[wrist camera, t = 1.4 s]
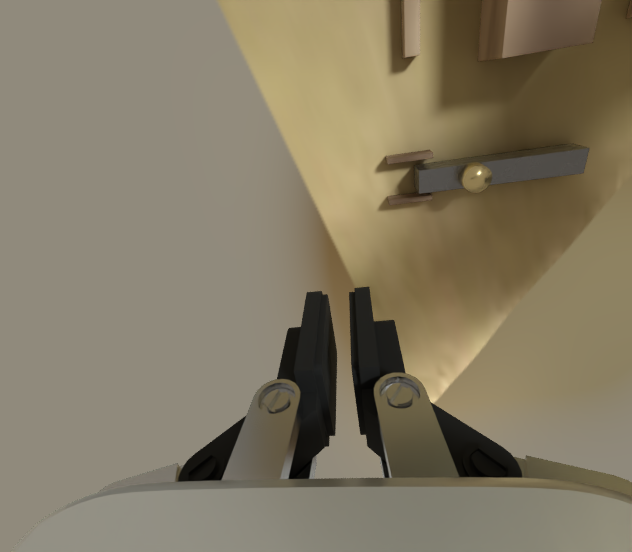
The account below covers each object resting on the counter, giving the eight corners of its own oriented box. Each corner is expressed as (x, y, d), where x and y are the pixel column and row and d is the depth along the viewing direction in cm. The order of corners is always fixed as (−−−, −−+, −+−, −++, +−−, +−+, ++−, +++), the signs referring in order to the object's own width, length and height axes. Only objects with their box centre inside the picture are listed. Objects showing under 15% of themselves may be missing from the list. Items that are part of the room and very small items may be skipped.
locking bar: (573, 142, 26) (600, 149, 23) (567, 168, 27) (593, 178, 24) (414, 164, 28) (422, 173, 25) (414, 187, 29) (422, 199, 26)
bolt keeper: (429, 149, 27) (433, 152, 26) (428, 195, 29) (432, 200, 28) (385, 156, 28) (387, 158, 27) (387, 200, 30) (389, 205, 29)
